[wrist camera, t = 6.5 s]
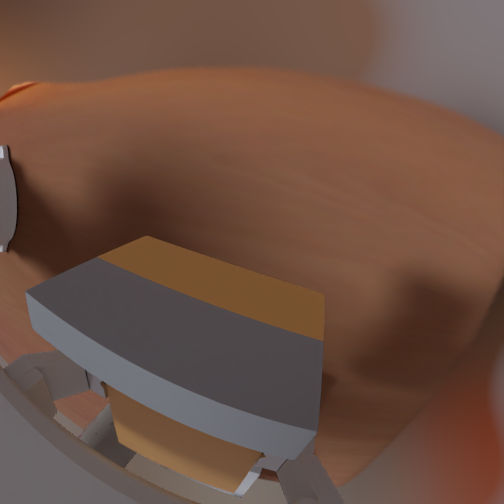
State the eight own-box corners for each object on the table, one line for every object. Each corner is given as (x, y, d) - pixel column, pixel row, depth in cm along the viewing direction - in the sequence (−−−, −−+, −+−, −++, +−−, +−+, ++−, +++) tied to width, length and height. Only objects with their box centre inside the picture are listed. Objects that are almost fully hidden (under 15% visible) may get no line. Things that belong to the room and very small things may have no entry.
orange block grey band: (150, 400, 13) (93, 474, 8) (162, 229, 10) (24, 291, 4) (252, 441, 12) (217, 533, 7) (324, 281, 9) (317, 431, 3)
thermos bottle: (108, 406, 36) (14, 507, 10) (118, 389, 34) (5, 508, 8) (145, 436, 36) (61, 546, 10) (161, 423, 33) (62, 555, 7)
